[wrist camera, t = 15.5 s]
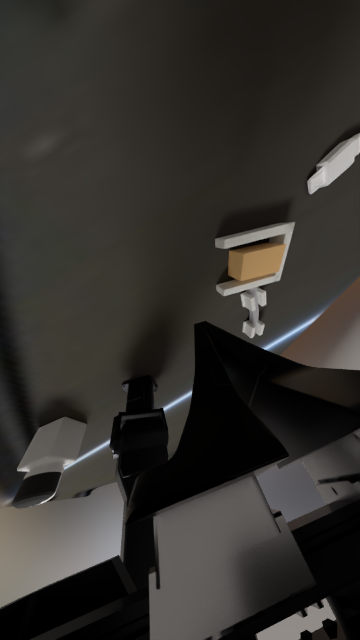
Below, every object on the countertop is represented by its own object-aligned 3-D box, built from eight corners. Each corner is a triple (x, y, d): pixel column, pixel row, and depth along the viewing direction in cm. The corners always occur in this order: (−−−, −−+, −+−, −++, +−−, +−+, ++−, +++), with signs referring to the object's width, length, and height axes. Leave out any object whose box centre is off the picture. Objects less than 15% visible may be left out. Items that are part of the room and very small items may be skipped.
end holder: (267, 275, 23) (279, 280, 21) (216, 290, 22) (223, 296, 20) (278, 223, 18) (295, 221, 16) (215, 238, 18) (224, 239, 16)
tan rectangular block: (261, 266, 22) (278, 271, 19) (227, 274, 21) (240, 281, 18) (265, 242, 20) (286, 243, 17) (228, 250, 19) (243, 253, 16)
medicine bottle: (38, 427, 31) (-9, 515, 22) (65, 415, 31) (30, 498, 21) (63, 434, 35) (34, 510, 26) (87, 423, 35) (66, 496, 26)
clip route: (254, 329, 30) (262, 336, 28) (236, 335, 29) (243, 342, 27) (265, 277, 23) (276, 281, 21) (241, 283, 22) (250, 288, 20)
